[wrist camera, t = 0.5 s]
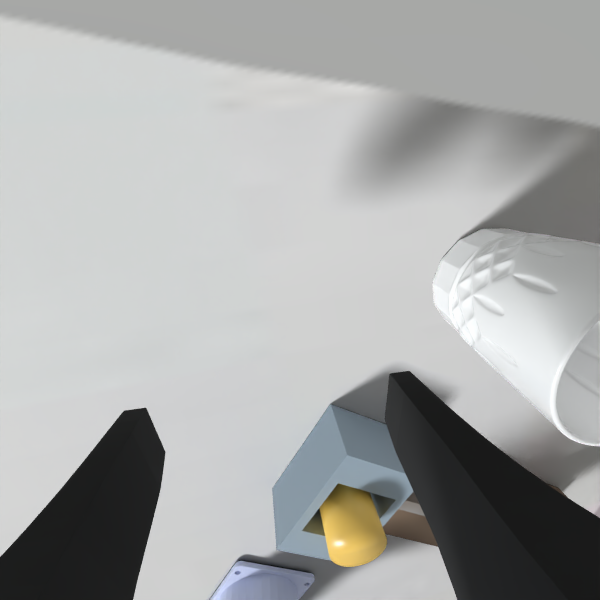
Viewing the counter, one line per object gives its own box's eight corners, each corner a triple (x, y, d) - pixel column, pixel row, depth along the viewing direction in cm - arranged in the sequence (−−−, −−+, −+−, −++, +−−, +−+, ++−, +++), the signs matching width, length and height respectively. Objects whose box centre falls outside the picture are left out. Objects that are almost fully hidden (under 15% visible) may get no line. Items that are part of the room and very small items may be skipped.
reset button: (348, 509, 25) (366, 570, 21) (307, 498, 23) (317, 561, 20) (375, 476, 24) (398, 534, 20) (333, 463, 22) (349, 522, 19)
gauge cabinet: (335, 505, 28) (350, 564, 24) (272, 488, 26) (276, 550, 22) (395, 428, 25) (423, 479, 21) (330, 404, 24) (347, 455, 20)
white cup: (417, 235, 20) (563, 300, 11) (541, 203, 20) (787, 238, 11) (426, 345, 23) (543, 468, 14) (533, 316, 23) (717, 417, 14)
